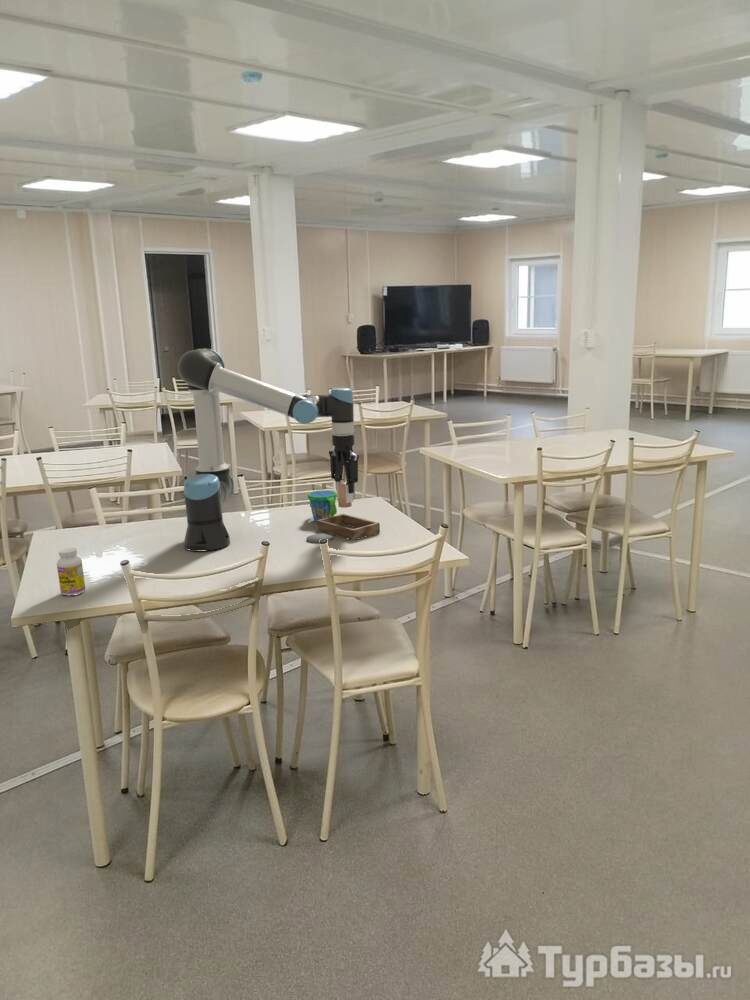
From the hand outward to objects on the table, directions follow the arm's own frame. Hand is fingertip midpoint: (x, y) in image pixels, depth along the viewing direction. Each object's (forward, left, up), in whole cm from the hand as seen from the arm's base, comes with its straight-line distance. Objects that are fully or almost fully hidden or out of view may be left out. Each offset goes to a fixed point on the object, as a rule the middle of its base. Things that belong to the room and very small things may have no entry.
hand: (345, 500), depth 266 cm
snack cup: (+4, +19, -11) cm, 22 cm away
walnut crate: (0, 0, -11) cm, 11 cm away
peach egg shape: (0, 0, -2) cm, 2 cm away
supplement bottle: (-92, +12, -11) cm, 93 cm away
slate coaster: (-12, 0, -11) cm, 16 cm away
